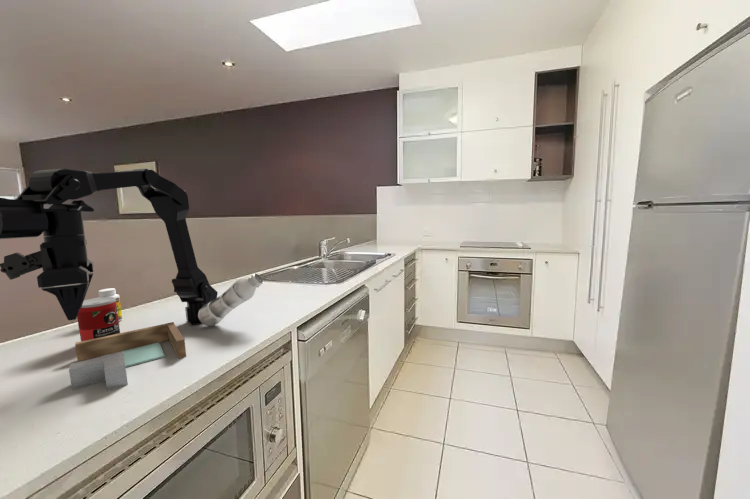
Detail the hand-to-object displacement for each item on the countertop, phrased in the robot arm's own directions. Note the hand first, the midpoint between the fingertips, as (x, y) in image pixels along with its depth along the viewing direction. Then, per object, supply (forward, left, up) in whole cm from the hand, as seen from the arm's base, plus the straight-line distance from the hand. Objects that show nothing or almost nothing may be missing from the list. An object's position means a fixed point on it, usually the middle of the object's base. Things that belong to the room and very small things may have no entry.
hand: (74, 314), depth 62 cm
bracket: (-3, +7, -13) cm, 15 cm away
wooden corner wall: (-8, -3, -13) cm, 16 cm away
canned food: (-3, -20, -13) cm, 24 cm away
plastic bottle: (-25, -13, -11) cm, 30 cm away
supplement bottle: (-5, -39, -13) cm, 42 cm away
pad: (-8, -3, -13) cm, 16 cm away
